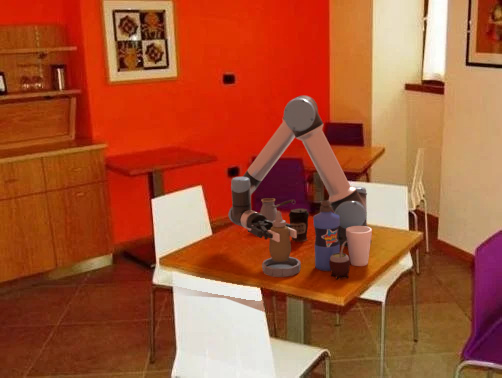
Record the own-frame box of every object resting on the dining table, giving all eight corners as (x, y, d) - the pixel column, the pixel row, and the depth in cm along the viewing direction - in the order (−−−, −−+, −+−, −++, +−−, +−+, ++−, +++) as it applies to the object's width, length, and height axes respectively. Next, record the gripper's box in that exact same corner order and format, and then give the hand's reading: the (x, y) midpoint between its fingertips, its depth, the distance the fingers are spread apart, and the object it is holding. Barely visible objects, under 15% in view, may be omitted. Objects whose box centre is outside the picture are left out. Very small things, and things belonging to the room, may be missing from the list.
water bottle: (344, 268, 219) (343, 201, 213) (320, 272, 216) (319, 204, 211) (334, 260, 227) (332, 196, 222) (311, 264, 225) (308, 199, 219)
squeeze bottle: (284, 264, 214) (283, 215, 210) (265, 261, 218) (263, 213, 214) (295, 257, 221) (294, 209, 217) (276, 254, 225) (274, 207, 221)
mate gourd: (333, 272, 216) (332, 232, 213) (354, 275, 212) (354, 234, 209) (326, 279, 210) (325, 238, 206) (348, 282, 206) (347, 240, 203)
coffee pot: (251, 228, 275) (249, 196, 272) (268, 222, 283) (267, 191, 280) (286, 236, 260) (285, 202, 257) (303, 229, 268) (302, 197, 265)
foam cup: (343, 266, 221) (342, 232, 218) (349, 257, 230) (348, 225, 227) (369, 268, 218) (369, 233, 215) (374, 260, 226) (374, 226, 223)
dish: (303, 264, 225) (303, 257, 224) (296, 277, 212) (296, 270, 212) (267, 263, 229) (267, 255, 228) (258, 276, 216) (258, 268, 215)
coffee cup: (308, 243, 249) (307, 212, 246) (288, 243, 251) (287, 212, 248) (310, 236, 258) (309, 207, 255) (291, 236, 259) (290, 207, 256)
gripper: (276, 226, 238) (310, 241, 218) (232, 235, 229) (264, 251, 209) (275, 208, 236) (309, 221, 217) (231, 216, 227) (263, 231, 208)
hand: (287, 236), depth 213 cm, fingers closed on squeeze bottle, 6 cm apart
